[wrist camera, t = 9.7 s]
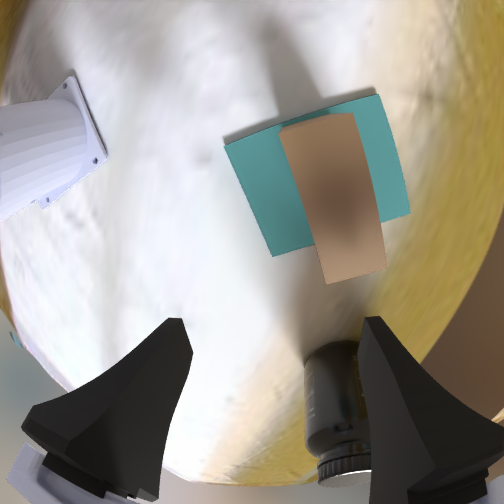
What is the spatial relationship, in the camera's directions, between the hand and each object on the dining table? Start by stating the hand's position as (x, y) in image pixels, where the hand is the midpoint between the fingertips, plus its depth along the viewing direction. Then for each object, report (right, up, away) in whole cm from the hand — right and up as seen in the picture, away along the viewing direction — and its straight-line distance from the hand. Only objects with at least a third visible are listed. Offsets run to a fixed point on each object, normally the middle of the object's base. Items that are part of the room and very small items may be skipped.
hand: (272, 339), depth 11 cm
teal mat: (+4, +8, +6) cm, 11 cm away
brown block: (+4, +8, +5) cm, 10 cm away
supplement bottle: (+8, -7, +14) cm, 17 cm away
